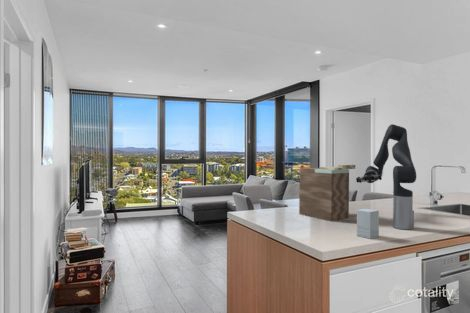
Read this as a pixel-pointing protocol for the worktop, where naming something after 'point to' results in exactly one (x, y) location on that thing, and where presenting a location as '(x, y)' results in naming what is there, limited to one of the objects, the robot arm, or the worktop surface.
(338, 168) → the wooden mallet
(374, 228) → the supplement box
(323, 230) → the worktop surface
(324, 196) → the walnut stand
